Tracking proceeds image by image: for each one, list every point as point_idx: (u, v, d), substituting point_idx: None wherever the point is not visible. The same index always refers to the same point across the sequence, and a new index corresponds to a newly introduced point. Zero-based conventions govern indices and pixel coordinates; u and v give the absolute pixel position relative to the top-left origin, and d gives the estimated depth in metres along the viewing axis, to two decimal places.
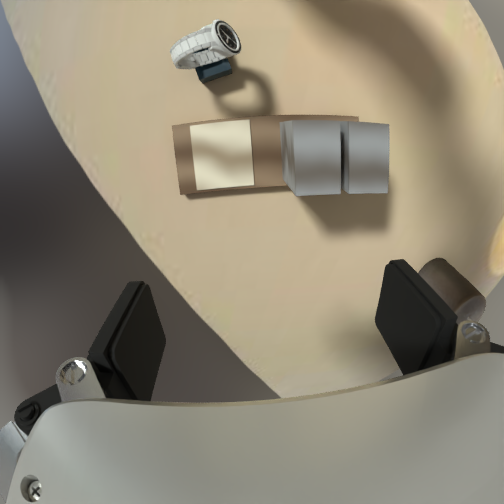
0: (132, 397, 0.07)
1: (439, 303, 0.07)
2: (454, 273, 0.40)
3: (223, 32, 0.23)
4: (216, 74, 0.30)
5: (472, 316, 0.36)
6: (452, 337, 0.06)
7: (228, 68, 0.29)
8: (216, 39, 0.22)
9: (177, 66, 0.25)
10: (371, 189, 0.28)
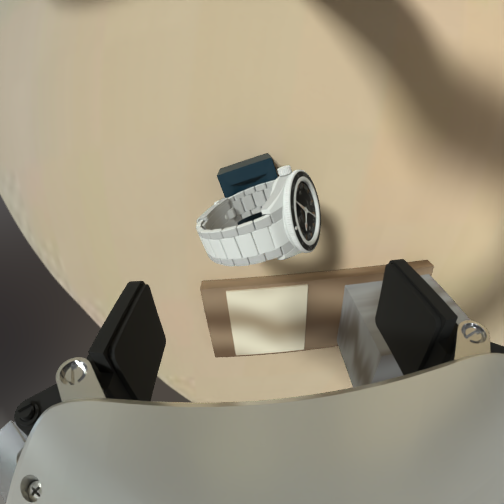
0: (132, 397, 0.07)
1: (439, 303, 0.07)
2: None
3: (300, 204, 0.15)
4: None
5: None
6: (452, 337, 0.06)
7: None
8: (292, 238, 0.15)
9: None
10: None
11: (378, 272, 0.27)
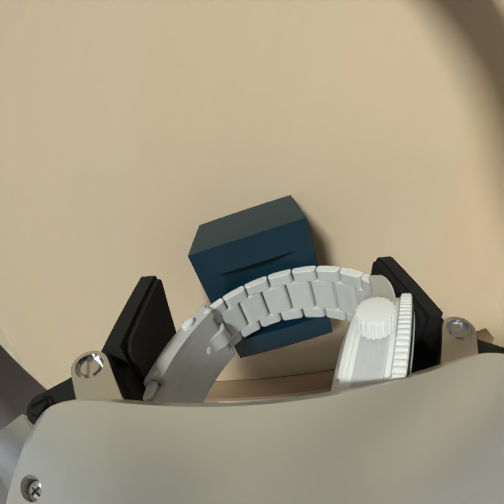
0: None
1: (424, 299, 0.07)
2: None
3: None
4: None
5: None
6: (438, 333, 0.07)
7: (324, 331, 0.12)
8: None
9: None
10: None
11: None
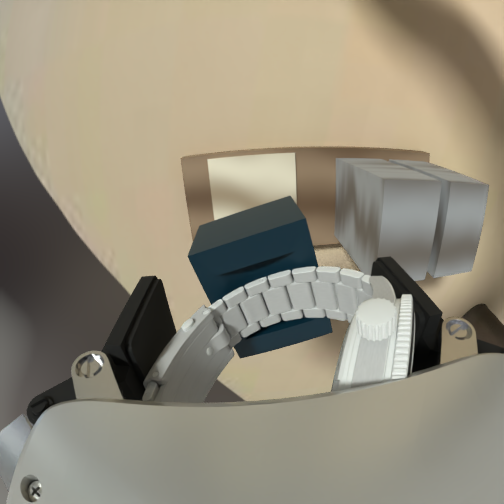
0: None
1: (424, 299, 0.07)
2: (497, 325, 0.31)
3: None
4: None
5: None
6: (437, 333, 0.07)
7: (324, 332, 0.12)
8: None
9: None
10: (457, 269, 0.19)
11: (370, 148, 0.24)
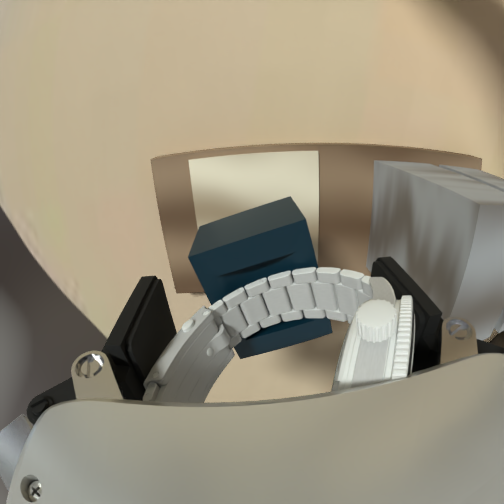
0: None
1: (424, 299, 0.07)
2: None
3: None
4: None
5: None
6: (437, 333, 0.07)
7: (324, 332, 0.12)
8: None
9: None
10: None
11: (417, 149, 0.16)
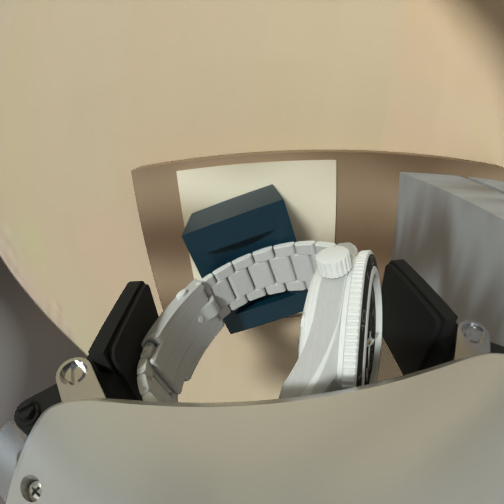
0: (132, 397, 0.07)
1: (439, 303, 0.07)
2: None
3: None
4: None
5: None
6: (452, 337, 0.06)
7: None
8: None
9: None
10: None
11: (446, 159, 0.13)
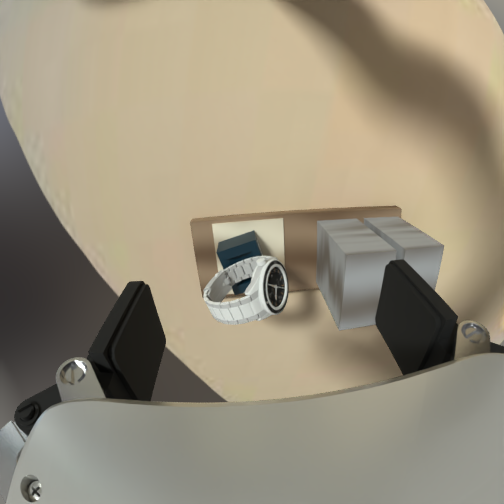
0: (132, 397, 0.07)
1: (439, 303, 0.07)
2: None
3: (271, 284, 0.24)
4: None
5: None
6: (452, 337, 0.06)
7: None
8: (265, 308, 0.23)
9: None
10: None
11: (347, 210, 0.31)
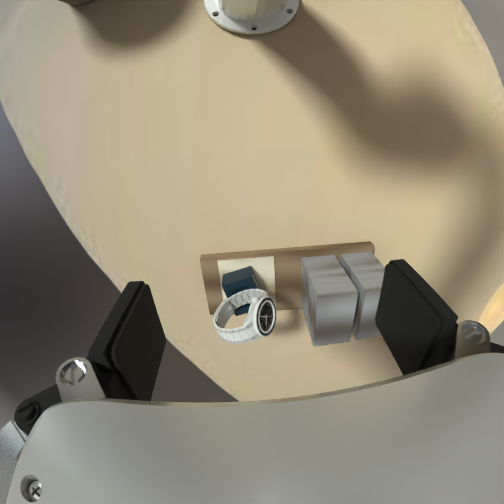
0: (132, 397, 0.07)
1: (439, 303, 0.07)
2: None
3: (262, 315, 0.32)
4: None
5: None
6: (452, 337, 0.06)
7: None
8: (258, 333, 0.32)
9: None
10: (375, 334, 0.34)
11: (326, 248, 0.39)
